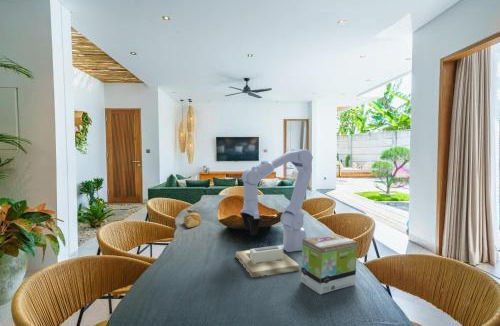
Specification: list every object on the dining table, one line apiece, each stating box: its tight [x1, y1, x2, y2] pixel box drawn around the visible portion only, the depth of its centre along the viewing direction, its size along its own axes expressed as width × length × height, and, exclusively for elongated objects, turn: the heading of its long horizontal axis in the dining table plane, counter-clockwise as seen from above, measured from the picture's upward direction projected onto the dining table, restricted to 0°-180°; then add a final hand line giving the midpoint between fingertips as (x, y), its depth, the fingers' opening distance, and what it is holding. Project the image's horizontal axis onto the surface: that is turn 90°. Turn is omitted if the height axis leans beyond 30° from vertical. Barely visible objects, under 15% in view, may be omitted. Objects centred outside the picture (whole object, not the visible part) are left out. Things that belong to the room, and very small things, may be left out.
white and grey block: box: [249, 245, 284, 264], centre depth 107 cm, size 12×4×6 cm, turn 110°
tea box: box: [300, 233, 358, 296], centre depth 92 cm, size 15×10×15 cm, turn 118°
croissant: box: [183, 211, 202, 228], centre depth 165 cm, size 21×10×8 cm, turn 2°
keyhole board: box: [235, 249, 300, 278], centre depth 109 cm, size 18×20×2 cm
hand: (250, 232), depth 116 cm, fingers open, 7 cm apart
